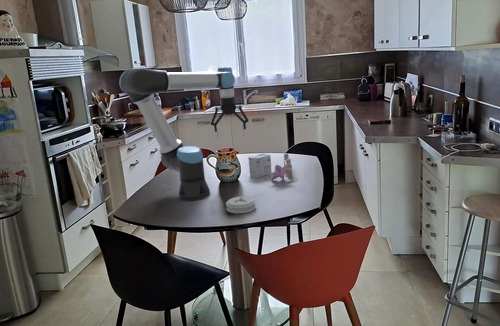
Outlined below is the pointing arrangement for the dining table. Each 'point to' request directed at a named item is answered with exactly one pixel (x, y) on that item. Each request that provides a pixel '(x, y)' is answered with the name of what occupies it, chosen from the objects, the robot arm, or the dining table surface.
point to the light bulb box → (260, 165)
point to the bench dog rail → (288, 162)
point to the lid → (241, 204)
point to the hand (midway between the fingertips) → (230, 136)
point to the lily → (280, 172)
